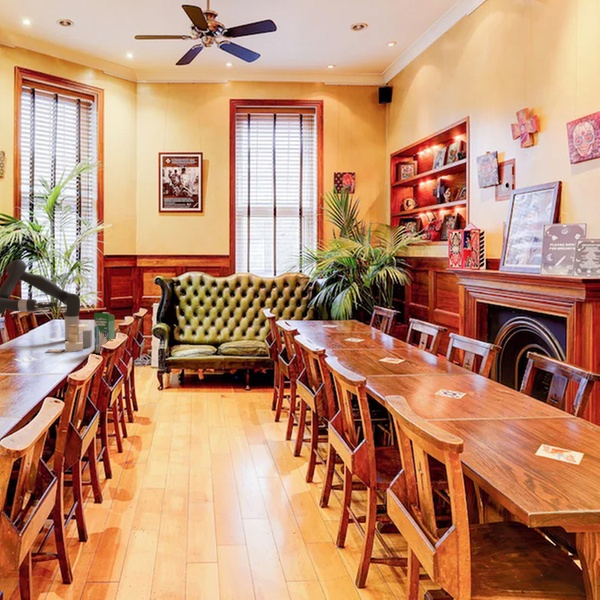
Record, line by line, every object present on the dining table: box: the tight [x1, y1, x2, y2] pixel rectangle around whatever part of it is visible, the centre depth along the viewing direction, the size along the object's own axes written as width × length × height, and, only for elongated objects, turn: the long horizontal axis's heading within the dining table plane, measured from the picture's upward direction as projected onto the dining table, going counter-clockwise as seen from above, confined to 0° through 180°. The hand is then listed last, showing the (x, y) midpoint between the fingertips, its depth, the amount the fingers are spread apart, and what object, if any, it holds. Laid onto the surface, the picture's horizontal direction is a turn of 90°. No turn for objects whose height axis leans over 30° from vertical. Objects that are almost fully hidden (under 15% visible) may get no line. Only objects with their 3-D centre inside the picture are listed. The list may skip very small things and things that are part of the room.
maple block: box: [68, 324, 80, 343], centre depth 348 cm, size 5×5×11 cm
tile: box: [44, 348, 65, 354], centre depth 341 cm, size 9×9×1 cm
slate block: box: [82, 329, 93, 348], centre depth 361 cm, size 5×5×11 cm
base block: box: [64, 340, 84, 352], centre depth 349 cm, size 10×10×5 cm
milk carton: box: [93, 311, 116, 354], centre depth 343 cm, size 9×9×25 cm
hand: (55, 305), depth 345 cm, fingers open, 8 cm apart
